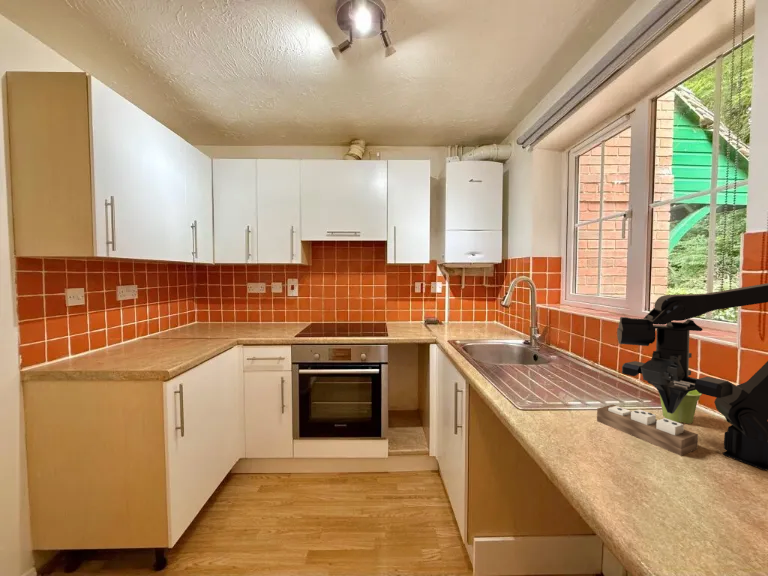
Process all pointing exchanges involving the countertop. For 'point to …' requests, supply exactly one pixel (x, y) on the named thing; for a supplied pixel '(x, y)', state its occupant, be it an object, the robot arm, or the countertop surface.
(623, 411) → the tile one dot
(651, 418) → the tile three dot
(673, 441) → the tile board
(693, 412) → the plant pot
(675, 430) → the tile two dot
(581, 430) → the countertop surface
